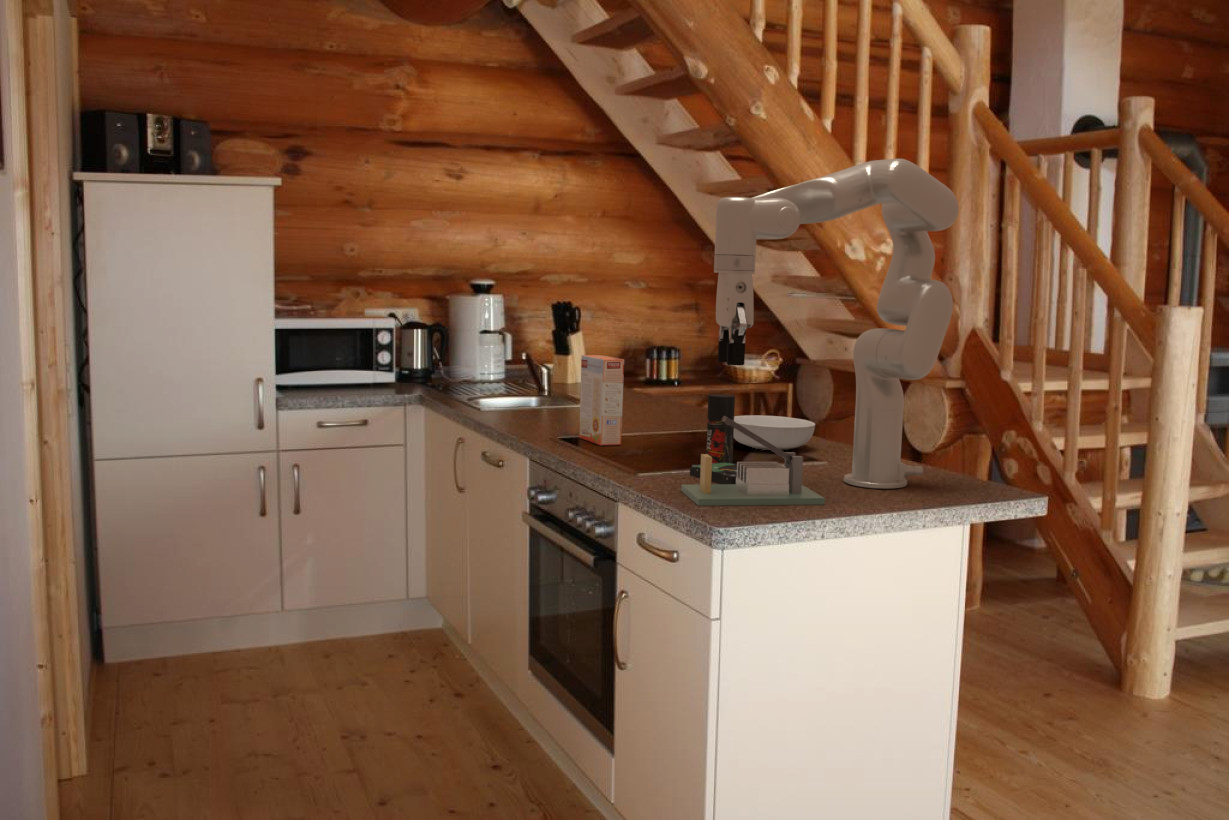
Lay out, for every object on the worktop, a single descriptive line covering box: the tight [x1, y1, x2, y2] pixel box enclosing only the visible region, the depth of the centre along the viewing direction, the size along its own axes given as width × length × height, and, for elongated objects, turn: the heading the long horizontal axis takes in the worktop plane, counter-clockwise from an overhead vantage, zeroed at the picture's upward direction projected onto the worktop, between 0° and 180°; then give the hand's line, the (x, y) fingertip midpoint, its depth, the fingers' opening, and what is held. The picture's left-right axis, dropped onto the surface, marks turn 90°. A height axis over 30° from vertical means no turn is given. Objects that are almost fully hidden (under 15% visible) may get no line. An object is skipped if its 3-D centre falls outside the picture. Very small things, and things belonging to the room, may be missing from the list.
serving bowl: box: [733, 414, 816, 451], centre depth 282 cm, size 21×21×7 cm
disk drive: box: [689, 462, 737, 484], centre depth 240 cm, size 10×3×15 cm
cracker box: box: [578, 354, 625, 447], centre depth 284 cm, size 14×6×21 cm, turn 23°
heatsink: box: [736, 461, 789, 495], centre depth 221 cm, size 8×8×5 cm
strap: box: [722, 416, 794, 465], centre depth 220 cm, size 17×3×2 cm
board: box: [680, 451, 826, 507], centre depth 221 cm, size 24×14×8 cm, turn 100°
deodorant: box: [705, 393, 736, 463], centre depth 259 cm, size 6×6×15 cm
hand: (730, 362), depth 217 cm, fingers open, 5 cm apart
